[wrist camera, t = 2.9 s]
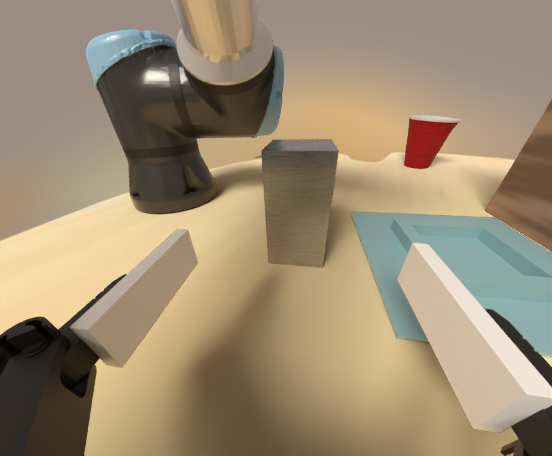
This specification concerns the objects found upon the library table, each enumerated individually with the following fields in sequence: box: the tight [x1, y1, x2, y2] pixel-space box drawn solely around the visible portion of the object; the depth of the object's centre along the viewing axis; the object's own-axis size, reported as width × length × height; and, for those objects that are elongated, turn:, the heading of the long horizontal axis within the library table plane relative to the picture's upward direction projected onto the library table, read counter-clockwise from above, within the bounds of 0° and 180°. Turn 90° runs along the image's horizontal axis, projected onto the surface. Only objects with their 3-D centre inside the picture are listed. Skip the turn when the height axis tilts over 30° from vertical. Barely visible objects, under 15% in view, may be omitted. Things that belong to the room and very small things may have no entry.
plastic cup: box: [404, 115, 461, 168], centre depth 51 cm, size 11×11×12 cm
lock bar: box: [262, 139, 338, 268], centre depth 21 cm, size 6×6×12 cm
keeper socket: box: [350, 212, 552, 357], centre depth 21 cm, size 20×20×2 cm
